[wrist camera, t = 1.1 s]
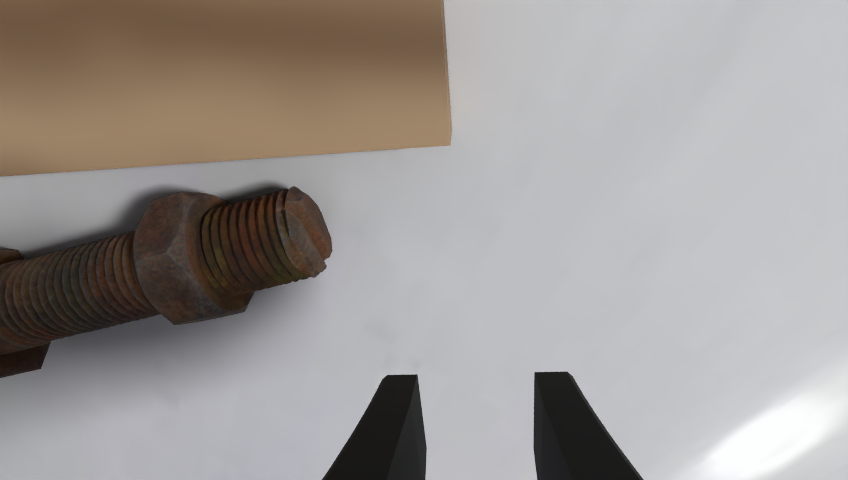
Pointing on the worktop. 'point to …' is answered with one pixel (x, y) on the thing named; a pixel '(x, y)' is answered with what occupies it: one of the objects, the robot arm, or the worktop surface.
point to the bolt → (159, 270)
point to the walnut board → (216, 80)
